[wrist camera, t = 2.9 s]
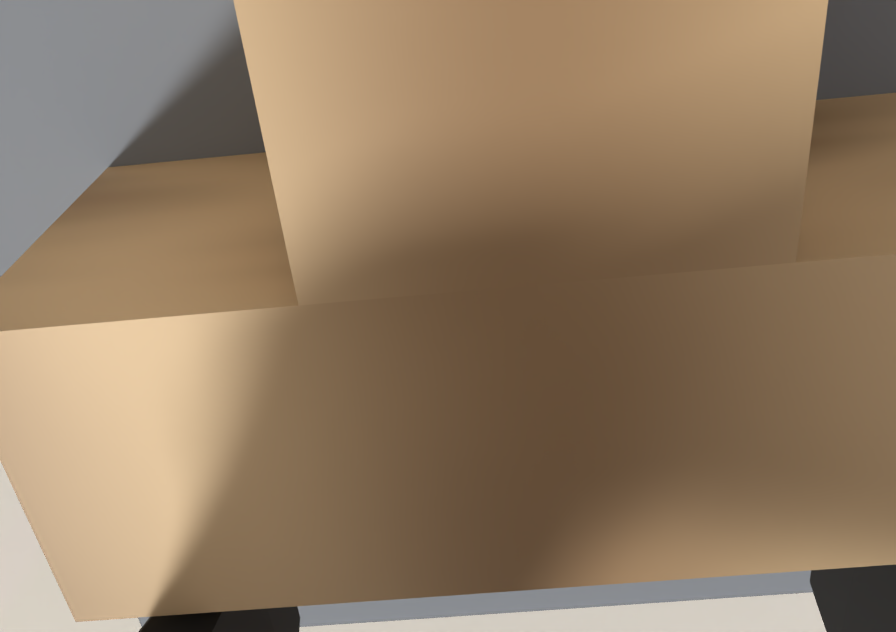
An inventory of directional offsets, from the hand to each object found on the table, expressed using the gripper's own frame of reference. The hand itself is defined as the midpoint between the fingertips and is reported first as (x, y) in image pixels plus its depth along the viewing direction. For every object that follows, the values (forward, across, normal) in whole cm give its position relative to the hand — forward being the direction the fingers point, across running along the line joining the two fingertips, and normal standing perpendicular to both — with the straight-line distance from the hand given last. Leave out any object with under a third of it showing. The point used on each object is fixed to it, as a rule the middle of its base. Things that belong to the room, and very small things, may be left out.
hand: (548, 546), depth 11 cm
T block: (+2, 0, -6) cm, 6 cm away
